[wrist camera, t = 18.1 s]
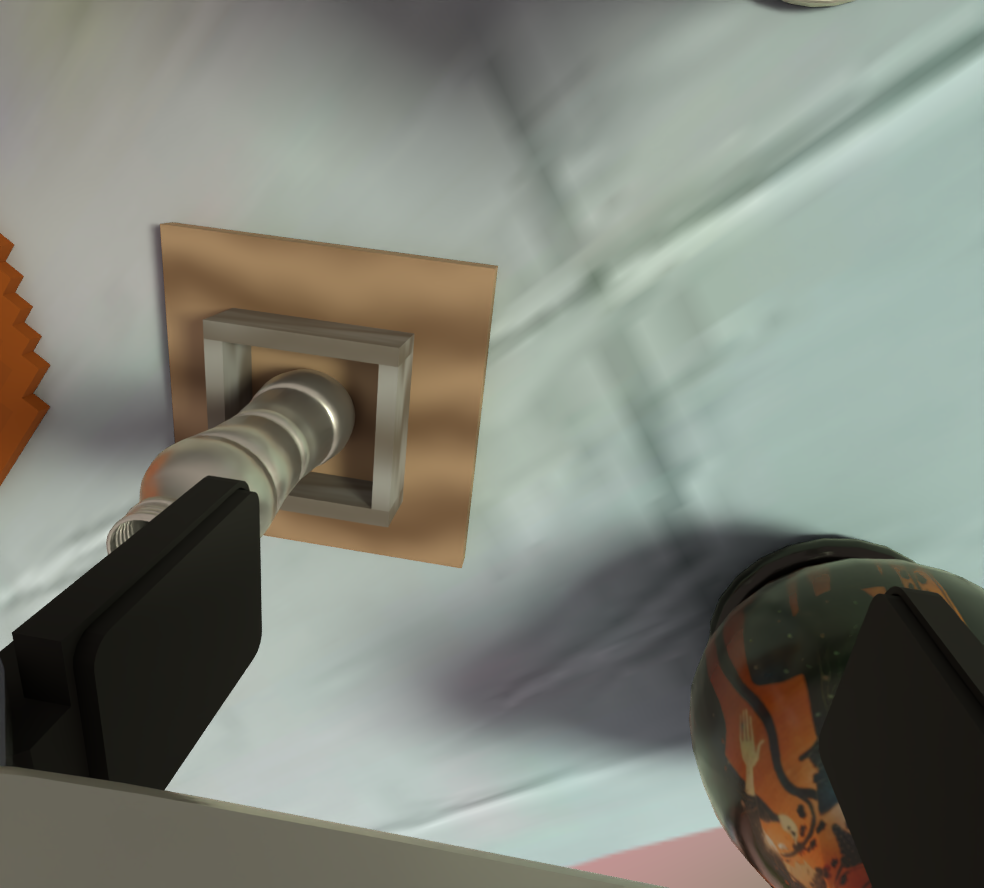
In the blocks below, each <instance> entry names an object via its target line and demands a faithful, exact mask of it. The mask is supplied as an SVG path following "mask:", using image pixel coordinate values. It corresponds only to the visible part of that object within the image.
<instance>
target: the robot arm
mask: <svg viewBox="0 0 984 888" xmlns="http://www.w3.org/2000/svg"><path fill="white" fill-rule="evenodd" d="M782 1H784V2H787V3H789V4H796V5H802V6H808V7H822V6H836V5H840V4H844V3H847V2H851V1H855V0H782ZM12 636H13V641H12V642H11V643H10V644H9V645H8V646H6V647H5V648H4V649H3V650H1V651H0V888H667V887H662V886H657V885H652V884H647V883H642V882H637V881H632V880H627V879H622V878H617V877H612V876H607V875H602V874H596V873H591V872H586V871H581V870H576V869H571V868H566V867H561V866H556V865H551V864H546V863H541V862H536V861H531V860H526V859H521V858H515V857H510V856H505V855H500V854H495V853H490V852H485V851H480V850H475V849H470V848H464V847H459V846H454V845H449V844H444V843H439V842H434V841H429V840H424V839H419V838H413V837H408V836H403V835H398V834H392V833H387V832H382V831H377V830H371V829H366V828H361V827H356V826H350V825H345V824H340V823H335V822H329V821H324V820H319V819H314V818H309V817H303V816H298V815H293V814H288V813H282V812H277V811H272V810H267V809H261V808H256V807H251V806H246V805H240V804H235V803H230V802H225V801H219V800H214V799H209V798H203V797H198V796H192V795H187V794H181V793H176V792H170V791H165V788H166V787H167V785H168V784H169V783H170V781H171V780H172V778H173V777H174V775H175V774H176V772H177V771H178V769H179V768H180V766H181V765H182V763H183V762H184V760H185V759H186V757H187V756H188V755H189V753H190V752H191V750H192V749H193V747H194V746H195V744H196V743H197V741H198V740H199V738H200V737H201V735H202V734H203V732H204V731H205V729H206V728H207V726H208V725H209V724H210V722H211V721H212V719H213V718H214V716H215V715H216V713H217V712H218V710H219V709H220V707H221V706H222V704H223V703H224V701H225V700H226V698H227V697H228V696H229V694H230V693H231V691H232V690H233V688H234V687H235V685H236V684H237V682H238V681H239V679H240V678H241V676H242V675H243V673H244V672H245V670H246V669H247V667H248V666H249V665H250V663H251V662H252V660H253V659H254V657H255V655H256V653H257V651H258V649H259V645H260V642H261V636H262V614H261V560H260V505H259V497H258V494H257V493H256V492H253V491H250V489H249V486H248V484H247V483H246V482H245V481H242V480H236V479H229V478H223V477H217V476H210V475H208V476H206V477H204V478H203V479H202V480H200V481H199V482H198V483H197V484H195V485H194V486H193V487H192V488H190V489H189V490H188V491H187V492H186V493H184V494H183V495H182V496H181V497H179V498H178V499H177V500H176V501H174V502H173V503H172V504H171V505H169V506H168V507H167V508H166V509H164V510H163V511H162V512H161V513H160V514H158V515H157V516H156V517H155V518H153V519H152V520H151V521H150V522H148V523H147V524H146V525H145V526H143V527H142V528H141V529H140V530H138V531H137V532H136V533H135V534H134V535H132V536H131V537H130V538H129V539H127V540H126V541H125V542H124V543H122V544H121V545H120V546H119V547H117V548H116V549H115V550H114V551H112V552H111V553H110V554H109V555H108V556H106V557H105V558H104V559H103V560H101V561H100V562H99V563H98V564H96V565H95V566H94V567H93V568H91V569H90V570H89V571H88V572H86V573H85V574H84V575H83V576H82V577H80V578H79V579H78V580H77V581H75V582H74V583H73V584H72V585H70V586H69V587H68V588H67V589H65V590H64V591H63V592H62V593H60V594H59V595H58V596H57V597H55V598H54V599H53V600H52V601H51V602H49V603H48V604H47V605H46V606H44V607H43V608H42V609H41V610H39V611H38V612H37V613H36V614H34V615H33V616H32V617H31V618H29V619H28V620H27V621H26V622H25V623H23V624H22V625H21V626H20V627H18V628H17V629H16V630H15V631H13V632H12ZM819 753H820V757H821V761H822V763H823V766H824V768H825V771H826V773H827V776H828V778H829V781H830V783H831V786H832V788H833V791H834V793H835V796H836V798H837V801H838V803H839V805H840V808H841V810H842V813H843V815H844V818H845V820H846V823H847V825H848V828H849V830H850V833H851V835H852V838H853V840H854V843H855V845H856V848H857V850H858V853H859V855H860V858H861V860H862V863H863V865H864V868H865V870H866V873H867V875H868V878H869V880H870V883H871V885H872V888H984V646H983V645H982V643H981V642H980V641H979V640H978V639H977V638H976V636H975V635H974V634H973V633H972V632H971V630H970V629H969V628H968V627H967V626H966V624H965V623H964V622H963V621H962V620H961V618H960V617H959V616H958V615H957V614H956V612H955V611H954V610H953V609H952V608H951V607H950V605H949V604H948V603H947V602H946V601H945V599H944V598H943V597H942V596H941V595H939V594H938V593H935V592H929V591H923V590H917V589H911V588H905V587H898V586H893V587H891V588H889V589H888V590H887V591H886V592H885V594H880V593H879V594H877V595H875V596H874V598H873V599H872V601H871V603H870V606H869V608H868V611H867V613H866V616H865V618H864V621H863V624H862V626H861V629H860V631H859V634H858V636H857V639H856V642H855V644H854V647H853V649H852V652H851V654H850V657H849V660H848V662H847V665H846V667H845V670H844V673H843V675H842V678H841V680H840V683H839V685H838V688H837V691H836V693H835V696H834V698H833V701H832V703H831V706H830V709H829V711H828V714H827V716H826V719H825V721H824V724H823V727H822V729H821V732H820V736H819Z"/></svg>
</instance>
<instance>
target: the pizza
mask: <svg viewBox="0 0 984 888" xmlns="http://www.w3.org/2000/svg"><path fill="white" fill-rule="evenodd" d="M13 246H14V244H13V243H12V242H10V241H9V240H8V239H7V238H5V237H4V236H3V235H2V234H1V233H0V486H1V484H2V482H3V481H4V479H5V478H6V476H7V474H8V473H9V471H10V470H11V468H12V467H13V465H14V463H15V462H16V460H17V459H18V457H19V455H20V454H21V452H22V451H23V449H24V447H25V446H26V444H27V443H28V441H29V440H30V438H31V436H32V435H33V433H34V432H35V430H36V428H37V427H38V425H39V424H40V422H41V420H42V419H43V417H44V416H45V414H46V413H47V411H48V409H49V408H50V406H49V405H48V404H46V403H45V402H44V401H42V400H41V399H40V398H39V397H37V396H36V395H35V394H33V393H34V391H35V390H36V388H37V386H38V385H39V383H40V381H41V380H42V378H43V377H44V375H45V373H46V372H47V370H48V368H49V367H50V364H49V363H47V362H46V361H45V360H44V359H42V358H41V357H40V356H39V355H37V354H36V353H35V352H34V349H35V347H36V346H37V344H38V342H39V340H40V339H41V337H42V336H41V335H40V334H38V333H37V332H36V331H35V330H33V329H32V328H31V327H30V326H28V325H27V324H26V323H25V320H26V318H27V316H28V315H29V313H30V311H31V309H32V308H33V306H31V305H30V304H29V303H28V302H26V301H25V300H24V299H23V298H21V297H20V296H19V295H18V294H17V293H15V291H16V290H17V288H18V286H19V284H20V282H21V281H22V279H23V277H24V276H23V275H22V274H20V273H19V272H18V271H17V270H15V269H14V268H13V267H12V266H11V265H9V264H8V263H7V262H6V259H7V258H8V256H9V254H10V252H11V250H12V248H13Z"/></svg>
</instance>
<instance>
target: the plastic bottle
mask: <svg viewBox="0 0 984 888" xmlns="http://www.w3.org/2000/svg"><path fill="white" fill-rule="evenodd" d="M354 424H355V409H354V405H353V402H352V399H351V397H350V396H349V394H348V392H347V391H346V389H345V388H344V387H343V386H342V385H341V384H340V383H339V382H338V381H337V380H336V379H334V378H333V377H331V376H329V375H328V374H326V373H323V372H320V371H317V370H312V369H298V370H293V371H289V372H285V373H282V374H279V375H277V376H275V377H273V378H272V379H270V380H269V381H268V382H266V383H265V384H264V385H263V387H262V388H261V389H260V390H259V391H258V392H257V393H256V394H255V396H254V397H253V398H252V400H251V402H250V403H249V404H248V405H246V406H245V407H244V408H243V409H242V410H241V411H240V412H239V413H238V414H237V415H235V416H233V417H232V418H230V419H229V420H227V421H225V422H223V423H221V424H219V425H218V426H216V427H214V428H212V429H209V430H207V431H204V432H201V433H199V434H196V435H194V436H191V437H189V438H186V439H184V440H182V441H179V442H177V443H175V444H173V445H172V446H170V447H168V448H166V449H165V450H164V451H162V452H161V453H160V454H158V456H157V457H156V458H155V459H154V461H153V462H152V463H151V465H150V466H149V468H148V470H147V471H146V473H145V475H144V477H143V480H142V482H141V488H140V501H139V503H138V504H136V505H135V506H134V507H132V508H131V509H130V510H129V512H128V513H127V514H126V516H124V517H123V518H122V519H121V520H119V521H118V522H116V524H115V525H114V526H113V527H112V529H111V530H110V532H109V534H108V536H107V542H106V544H107V552H108V555H109V554H110V553H111V552H112V551H114V550H115V549H116V548H117V547H119V546H120V545H121V544H122V543H124V542H125V541H126V540H127V539H129V538H130V537H131V536H132V535H134V534H135V533H136V532H137V531H138V530H140V529H141V528H142V527H143V526H145V525H146V524H147V523H148V522H150V521H151V520H152V519H153V518H155V517H156V516H157V515H158V514H160V513H161V512H162V511H163V510H164V509H166V508H167V507H168V506H169V505H171V504H172V503H173V502H174V501H176V500H177V499H178V498H179V497H181V496H182V495H183V494H184V493H186V492H187V491H188V490H189V489H190V488H192V487H193V486H194V485H195V484H197V483H198V482H199V481H200V480H202V479H203V478H204V477H206V476H208V475H210V476H217V477H223V478H229V479H236V480H242V481H245V482H246V483H247V484H248V486H249V489H250V491H253V492H256V493H257V494H258V497H259V505H260V538H261V537H262V536H263V535H264V533H265V532H266V530H267V529H268V528H269V526H270V525H271V523H272V521H273V519H274V517H275V516H276V514H277V512H278V510H279V509H280V507H281V505H282V503H283V502H284V500H285V498H286V497H287V496H288V495H289V493H290V492H291V491H292V490H293V488H294V487H295V485H296V484H297V483H298V482H299V481H300V479H301V478H303V477H304V476H305V475H307V474H308V473H309V472H310V471H312V470H313V469H314V468H315V467H317V466H319V465H322V464H324V463H325V462H326V461H328V460H329V459H331V458H332V457H334V456H335V455H337V454H338V453H339V452H340V451H341V450H342V449H343V448H344V447H345V445H346V443H347V442H348V440H349V438H350V435H351V433H352V430H353V427H354Z"/></svg>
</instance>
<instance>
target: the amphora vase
mask: <svg viewBox="0 0 984 888" xmlns="http://www.w3.org/2000/svg"><path fill="white" fill-rule="evenodd" d="M893 586H898V587H905V588H911V589H917V590H923V591H929V592H935V593H938V594H939V595H941V596H942V597H943V598H944V599H945V601H946V602H947V603H948V604H949V605H950V607H951V608H952V609H953V610H954V611H955V612H956V614H957V615H958V616H959V617H960V618H961V620H962V621H963V622H964V623H965V624H966V626H967V627H968V628H969V629H970V630H971V632H972V633H973V634H974V635H975V636H976V638H977V639H978V640H979V641H980V642H981V643H982V645H983V646H984V589H983V588H982V587H980V586H978V585H976V584H974V583H972V582H970V581H968V580H966V579H964V578H962V577H960V576H957V575H955V574H952V573H949V572H947V571H944V570H941V569H937V568H933V567H929V566H925V565H920V564H916V563H915V562H914V561H913V560H911V559H909V558H907V557H905V556H903V555H902V554H900V553H898V552H896V551H894V550H892V549H890V548H888V547H886V546H882V545H878V544H874V543H870V542H866V541H862V540H858V539H826V538H822V539H817V540H812V541H808V542H803V543H798V544H793V545H789V546H787V547H785V548H783V549H780V550H778V551H776V552H774V553H771V554H769V555H767V556H765V557H762V558H760V559H759V560H758V561H756V562H755V563H754V564H752V565H751V566H750V567H748V568H747V569H746V570H744V571H743V572H742V573H741V574H739V575H738V576H737V577H736V578H735V579H734V581H733V582H732V583H731V584H730V586H729V587H728V588H727V590H726V591H725V592H724V593H723V595H722V596H721V597H720V599H719V602H718V604H717V607H716V609H715V612H714V614H713V617H712V619H711V623H710V636H709V640H708V643H707V645H706V648H705V650H704V653H703V655H702V658H701V660H700V663H699V665H698V667H697V670H696V673H695V676H694V679H693V682H692V686H691V698H690V713H689V724H690V732H691V739H692V747H693V752H694V755H695V759H696V762H697V765H698V769H699V772H700V776H701V779H702V782H703V785H704V787H705V790H706V792H707V795H708V797H709V800H710V802H711V804H712V807H713V809H714V812H715V814H716V816H717V818H718V820H719V821H720V823H721V825H722V826H723V828H724V829H725V831H726V832H727V834H728V836H729V837H730V839H731V841H732V842H733V843H734V844H735V845H736V847H737V848H738V849H739V850H740V852H741V853H742V854H743V855H744V856H745V858H746V859H747V860H748V861H749V863H750V864H751V865H752V866H753V867H754V868H755V869H756V871H757V872H758V873H759V874H760V875H761V876H762V877H763V878H764V879H765V880H766V882H767V883H768V884H769V885H770V886H771V887H772V888H872V885H871V883H870V880H869V878H868V875H867V873H866V870H865V868H864V865H863V863H862V860H861V858H860V855H859V853H858V850H857V848H856V845H855V843H854V840H853V838H852V835H851V833H850V830H849V828H848V825H847V823H846V820H845V818H844V815H843V813H842V810H841V808H840V805H839V803H838V801H837V798H836V796H835V793H834V791H833V788H832V786H831V783H830V781H829V778H828V776H827V773H826V771H825V768H824V766H823V763H822V761H821V757H820V753H819V736H820V732H821V729H822V727H823V724H824V721H825V719H826V716H827V714H828V711H829V709H830V706H831V703H832V701H833V698H834V696H835V693H836V691H837V688H838V685H839V683H840V680H841V678H842V675H843V673H844V670H845V667H846V665H847V662H848V660H849V657H850V654H851V652H852V649H853V647H854V644H855V642H856V639H857V636H858V634H859V631H860V629H861V626H862V624H863V621H864V618H865V616H866V613H867V611H868V608H869V606H870V603H871V601H872V599H873V598H874V596H875V595H877V594H879V593H880V594H885V592H886V591H887V590H888V589H889V588H891V587H893Z"/></svg>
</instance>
